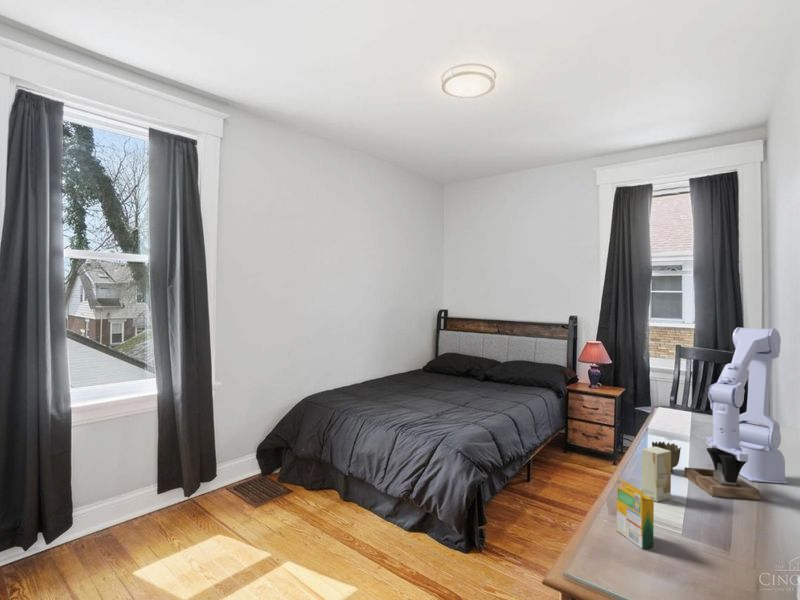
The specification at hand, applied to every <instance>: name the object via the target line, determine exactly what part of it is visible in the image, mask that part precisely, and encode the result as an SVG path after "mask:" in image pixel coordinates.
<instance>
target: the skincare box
mask: <svg viewBox="0 0 800 600" xmlns="http://www.w3.org/2000/svg"><path fill="white" fill-rule="evenodd" d="M640 473H641V479H640V481H641V482H640V483H641V484H640V485H641V486H640V490H641V491H643V492H642V494H644V495H646V496H648V497H650V498H652V499H653V500H654V502H662V501H666V500H669V499H671V496H672V495H671V494H672V493H671V490H672V486H671V485H672V472H671V451H669V450H666V449H662V448H659V447H652V446H650V447H649V446H648V447H647V448H641V472H640Z"/></svg>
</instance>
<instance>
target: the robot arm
mask: <svg viewBox="0 0 800 600" xmlns="http://www.w3.org/2000/svg"><path fill="white" fill-rule="evenodd" d="M781 339H782V338H781V335H780V332H779V330H777V329H776V328H758V327H756V328H755V327H753V328H752V327H740V326H739V327H736V328H735V329H734V330H733V333H732V342H733V345H734V348H735V350H734V353H733V355H732V360H731V363H727V364H724V366H723V369H722V371H721V373H720V375H719V377H718V379H717V381H716V382H715V383H712V384H711V385H710V386H709V388H708V393H707V394H708V395H707V397H708V401H709V403H710V404H709V406H710V410H712V436H706V444H707V445H708V446H709V447H707V448H706V451H707V453H708V454H709V457H710V458H711V461H712V464H713V469H715V470H717V463H723V467H724V474H725V479H726V482H728V483H736V481H737V478H739V476H741V477H743V478H745V479H747V480H748V481H750V482H756V483H757V482H759V483H760V482H761V483H771V484H772V483H775V484H786V485H787V484H788V481H787V480H786V459H785V456H784V453H782V451H781V450H780V449H779V447H780V445H781V442H782V434H781V429H780V428H781V426H780V424H779V422H777V421H776V420H775V419H774V418H773V417H772V416H770V415H769V402H770V401H769V400H770V399H769V398H770V386H771V374H772V373H771V372H772V371H771V369H772V364H773V363H772V362H773V360H774V359H777V358H779V357H780V353H781V344H782V343H781V342H782V341H781ZM748 367H749V369H748ZM747 381H748V389H747V400H746V402H747V403H746V411H745V412H743V413H740V408H741V407H742V405H743V404H744V400H745V399H744V398H745V393H746V392H745V385H746V383H747ZM750 422H752V423H750ZM756 423H757V424H756ZM761 424H762V425H761Z"/></svg>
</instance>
